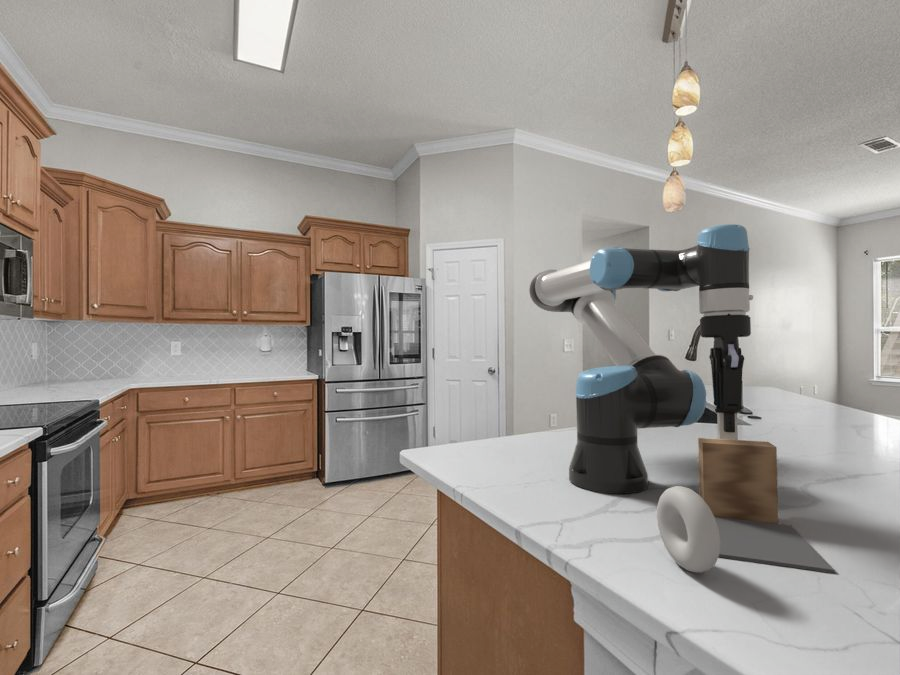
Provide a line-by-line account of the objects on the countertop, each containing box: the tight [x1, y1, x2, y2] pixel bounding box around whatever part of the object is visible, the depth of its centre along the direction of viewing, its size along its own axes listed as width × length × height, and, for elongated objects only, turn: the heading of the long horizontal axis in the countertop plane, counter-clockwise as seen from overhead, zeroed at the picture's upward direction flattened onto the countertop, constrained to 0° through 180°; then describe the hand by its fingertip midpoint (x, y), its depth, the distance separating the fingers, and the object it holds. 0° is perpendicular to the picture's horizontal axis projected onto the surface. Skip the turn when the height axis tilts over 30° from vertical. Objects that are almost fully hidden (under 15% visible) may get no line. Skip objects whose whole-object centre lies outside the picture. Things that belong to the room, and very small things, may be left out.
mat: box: [715, 517, 836, 574], centre depth 62 cm, size 13×14×1 cm
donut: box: [656, 485, 721, 573], centre depth 55 cm, size 10×4×10 cm, turn 5°
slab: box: [697, 437, 779, 524], centre depth 71 cm, size 10×4×12 cm, turn 69°
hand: (727, 449), depth 76 cm, fingers closed
